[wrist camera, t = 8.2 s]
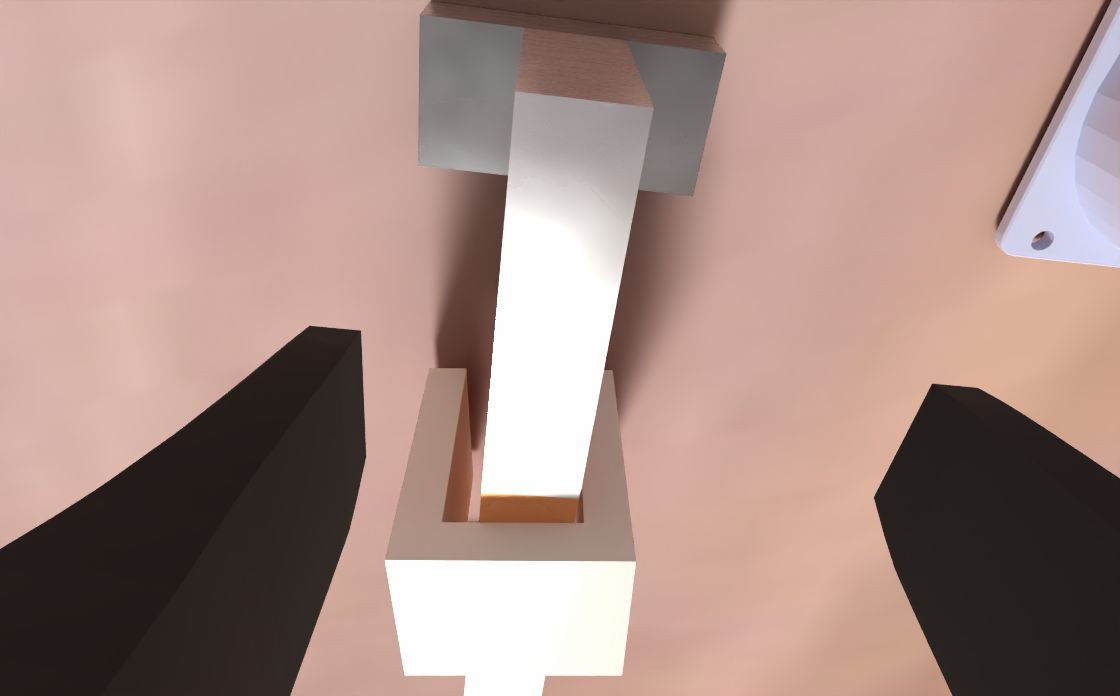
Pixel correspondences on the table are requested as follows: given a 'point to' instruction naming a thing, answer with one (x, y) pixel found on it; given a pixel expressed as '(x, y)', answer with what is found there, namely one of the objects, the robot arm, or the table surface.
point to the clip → (508, 558)
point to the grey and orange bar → (557, 217)
